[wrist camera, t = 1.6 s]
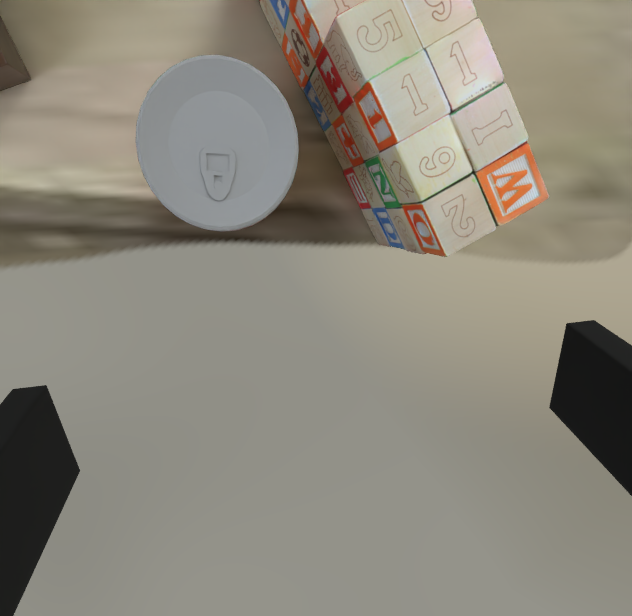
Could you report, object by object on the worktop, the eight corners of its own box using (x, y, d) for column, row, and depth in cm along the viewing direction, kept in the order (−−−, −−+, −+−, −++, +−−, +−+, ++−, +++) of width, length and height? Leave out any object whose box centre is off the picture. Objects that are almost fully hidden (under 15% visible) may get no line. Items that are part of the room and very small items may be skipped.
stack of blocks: (232, -43, 29) (222, -223, 17) (316, -88, 30) (362, -296, 18) (378, 246, 34) (448, 260, 22) (449, 206, 35) (555, 198, 23)
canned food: (192, 239, 32) (165, 249, 22) (157, 124, 31) (107, 72, 20) (295, 213, 33) (318, 210, 22) (266, 98, 31) (276, 36, 21)
